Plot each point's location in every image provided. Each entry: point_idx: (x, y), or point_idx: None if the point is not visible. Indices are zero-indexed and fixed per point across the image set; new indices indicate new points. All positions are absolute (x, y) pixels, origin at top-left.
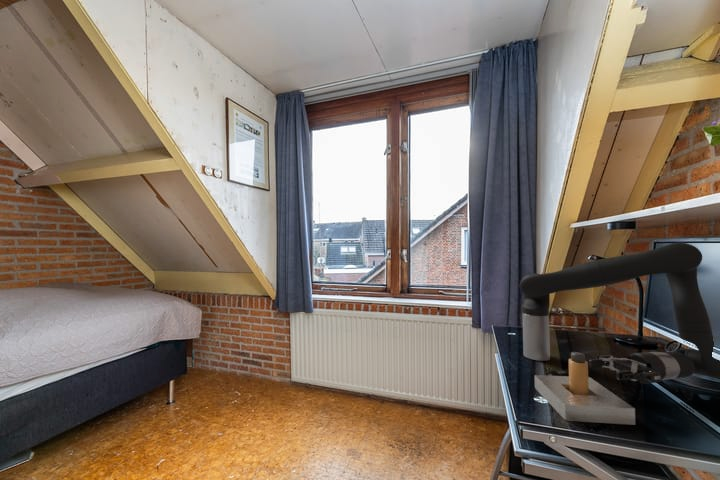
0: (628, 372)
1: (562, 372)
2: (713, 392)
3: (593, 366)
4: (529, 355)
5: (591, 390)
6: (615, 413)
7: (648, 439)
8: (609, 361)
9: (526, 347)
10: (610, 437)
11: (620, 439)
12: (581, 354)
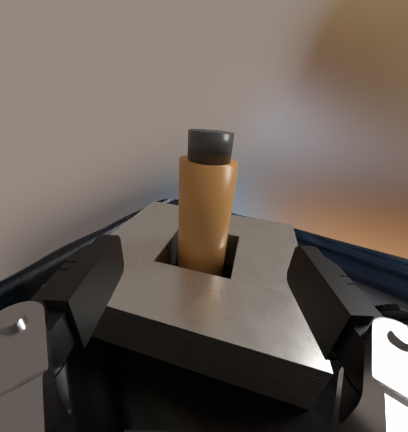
0: (61, 289)
1: None
2: None
3: (292, 284)
4: None
5: (189, 269)
6: None
7: (16, 293)
8: (364, 397)
9: None
10: (84, 243)
11: (69, 250)
12: (203, 131)
